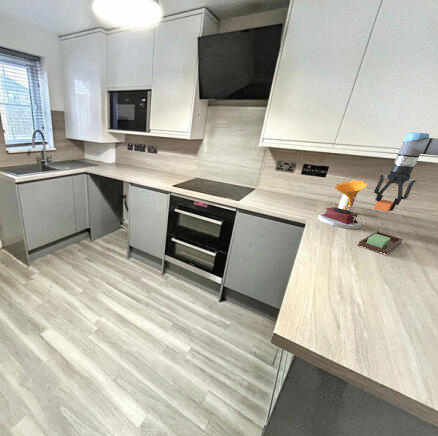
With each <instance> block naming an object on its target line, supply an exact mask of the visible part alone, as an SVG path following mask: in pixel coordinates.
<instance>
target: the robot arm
mask: <svg viewBox="0 0 438 436" xmlns="http://www.w3.org/2000/svg"><path fill="white" fill-rule="evenodd" d="M421 155H428V156H436V157H438V138H437V137H434V138H433V137H430V133H428V132H408V133H407V134H406V136H405V138H404V140H403V142H402V144H401V146H400V148H399V151H398V152H397V155H396V157H395V160H394V162H393V163H394V164H392V167H391V169H390V171H389V172H388V174H381V175H379V180H378V182H377V184H376V187H375V188H374V190H373V193H374V194H376V196H375V201H376V202H377V201H380V200H383V197H384V195H383V193H385V192H386V190H388V188H389V187H390V186H391V185H392V184H396V185H397V197H395V199H394V200H393V201H392V202H393V205H392V207H391V209H390V211H389V212H392V211H394V209H395V208H396V206H399V205H400V204H401V201H402V200H407V199H408V197H409V196H410V194H411V191H412V189H413V186H414V185H415V184H416V183H417V181H418V180H417V179H413V178H411V175H412V173H413V170H414V166H416V164H417V162H418V160H419V158H420V156H421ZM386 179H388V181H387V182H386V184H385V185H384V186H383V187H382V185H383V183H384V181H385V180H386ZM407 181H408V183H409V184H408V185H407V187H406V190H405V192H404V183H406V182H407ZM381 187H382V188H381ZM403 192H404V193H403Z"/></svg>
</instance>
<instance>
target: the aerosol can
mask: <svg viewBox="0 0 438 436" xmlns="http://www.w3.org/2000/svg"><path fill="white" fill-rule="evenodd" d="M357 196H358V193H357V194H355V195H354V198H353V203H352V206H351V207H350V208H349V211H350V212H351V211H352V208H353V205H354V203H355V201H356V198H357ZM349 204H350V203H349V199H348V197H347V196H346V195H345V194H343V193H342V196H341V199H340V201H339V203H338V206H337V208H340V209H344V207H346V208H347V207H348V205H349ZM346 210H348V209H346Z"/></svg>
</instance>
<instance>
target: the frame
mask: <svg viewBox="0 0 438 436" xmlns="http://www.w3.org/2000/svg"><path fill="white" fill-rule="evenodd" d="M374 234H379V235H382V236H385V237H389V238H391V239H390V241H389V243H388V245H387V246H386V247H384V248H380V247H377V246H374V245H371V244H368V243H366V242H367V240H368V238H369V237H371V236H373V235H374ZM403 241H404V238H401V237H397V236H395V235H391V234H387V233H384V232H381V231H375V232H373V233H371V234H369V235H368V236H366V237H365V238H362V239H360V240H359V242H358V244H357V246H358V245H359V246H358V247H360V246H363V247H366V248H369V249H372V250H375V251H378V252H382V253H385V254H387V253H388V252H389V253H391V252H392V251H393V250H394V249H396V248H397V247H399V246H400V245H401V244H402V242H403ZM396 246H397V247H396ZM363 247H362V248H363ZM395 247H396V248H395ZM366 248H365V249H366ZM369 249H368V250H369ZM392 249H393V250H392ZM372 250H371V251H372ZM391 250H392V251H391ZM375 251H374V252H375ZM378 252H377V253H378ZM389 253H388V254H389ZM388 254H387V255H388Z"/></svg>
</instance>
